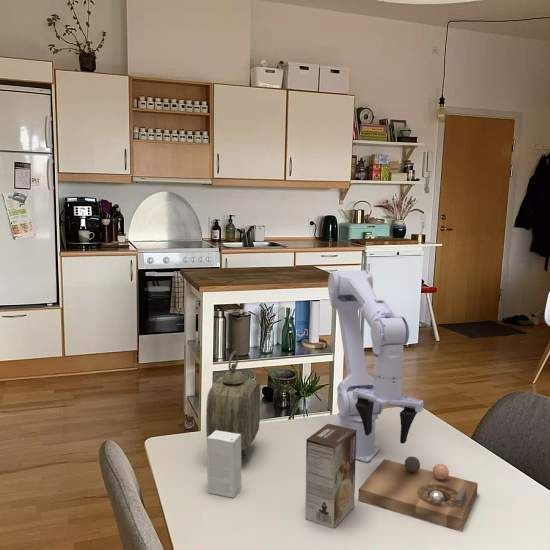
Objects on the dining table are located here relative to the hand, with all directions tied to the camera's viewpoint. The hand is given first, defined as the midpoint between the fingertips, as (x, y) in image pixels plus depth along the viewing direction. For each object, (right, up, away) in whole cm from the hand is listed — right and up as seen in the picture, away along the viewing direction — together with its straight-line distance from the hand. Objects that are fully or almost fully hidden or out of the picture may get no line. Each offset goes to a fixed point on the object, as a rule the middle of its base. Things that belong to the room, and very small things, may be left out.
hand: (385, 437), depth 118 cm
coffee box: (-13, -12, -9) cm, 20 cm away
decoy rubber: (+6, -6, +2) cm, 9 cm away
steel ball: (+9, -10, -7) cm, 15 cm away
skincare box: (-34, -11, -2) cm, 35 cm away
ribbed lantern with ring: (-33, -8, +14) cm, 36 cm away
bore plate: (+6, -11, -4) cm, 13 cm away
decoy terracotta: (+11, -7, -1) cm, 13 cm away
